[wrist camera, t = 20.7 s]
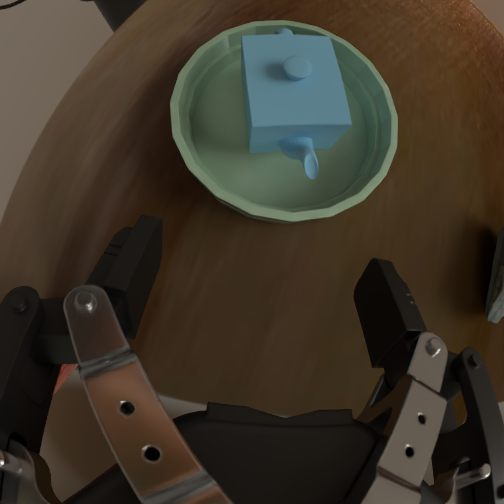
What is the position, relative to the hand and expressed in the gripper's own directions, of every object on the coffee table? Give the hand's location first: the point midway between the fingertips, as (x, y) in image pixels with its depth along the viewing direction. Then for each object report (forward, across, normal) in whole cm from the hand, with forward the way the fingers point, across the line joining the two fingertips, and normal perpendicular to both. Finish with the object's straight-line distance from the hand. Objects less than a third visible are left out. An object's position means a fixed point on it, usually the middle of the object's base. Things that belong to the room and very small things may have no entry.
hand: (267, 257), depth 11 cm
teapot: (+15, -1, -2) cm, 15 cm away
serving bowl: (+16, -1, -2) cm, 16 cm away
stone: (+9, -28, +5) cm, 30 cm away
